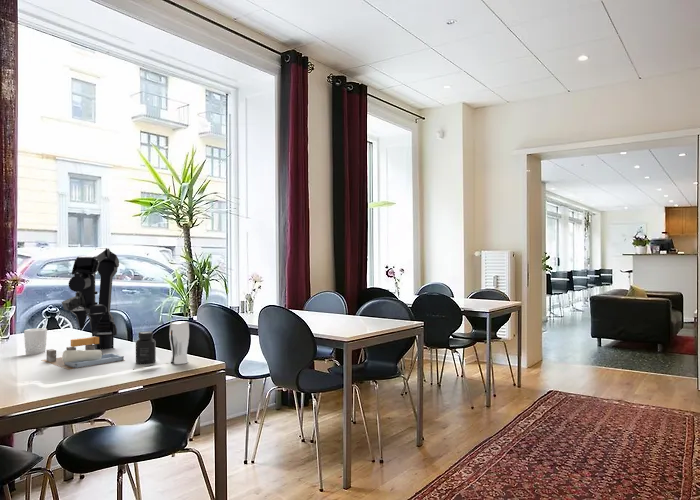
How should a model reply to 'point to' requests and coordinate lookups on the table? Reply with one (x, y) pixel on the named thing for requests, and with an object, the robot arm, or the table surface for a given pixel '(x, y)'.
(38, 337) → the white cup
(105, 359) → the tray
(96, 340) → the tie bar
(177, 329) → the beer glass
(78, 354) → the off-white cylinder
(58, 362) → the board
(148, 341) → the supplement bottle
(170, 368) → the table surface
